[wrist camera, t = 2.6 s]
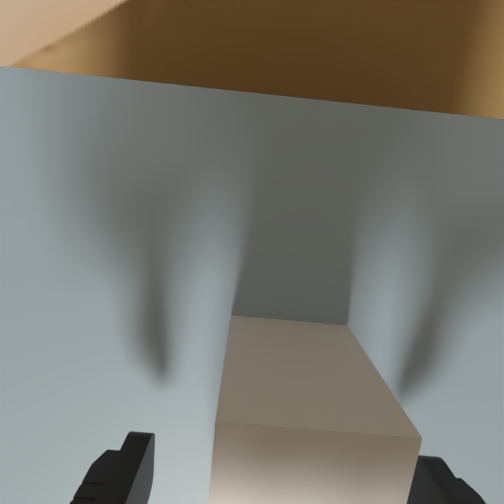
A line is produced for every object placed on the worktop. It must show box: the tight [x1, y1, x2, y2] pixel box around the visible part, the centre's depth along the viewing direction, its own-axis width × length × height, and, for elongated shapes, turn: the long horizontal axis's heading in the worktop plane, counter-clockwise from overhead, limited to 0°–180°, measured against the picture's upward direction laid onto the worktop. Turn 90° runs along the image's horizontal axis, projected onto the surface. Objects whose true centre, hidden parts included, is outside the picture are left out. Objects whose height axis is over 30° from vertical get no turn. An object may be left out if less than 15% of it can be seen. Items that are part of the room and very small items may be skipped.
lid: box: [0, 66, 504, 504], centre depth 10 cm, size 22×22×7 cm
